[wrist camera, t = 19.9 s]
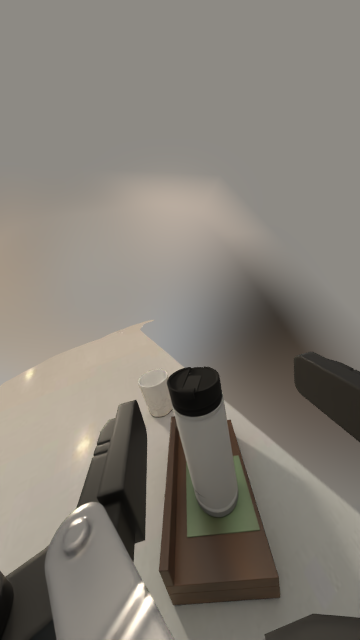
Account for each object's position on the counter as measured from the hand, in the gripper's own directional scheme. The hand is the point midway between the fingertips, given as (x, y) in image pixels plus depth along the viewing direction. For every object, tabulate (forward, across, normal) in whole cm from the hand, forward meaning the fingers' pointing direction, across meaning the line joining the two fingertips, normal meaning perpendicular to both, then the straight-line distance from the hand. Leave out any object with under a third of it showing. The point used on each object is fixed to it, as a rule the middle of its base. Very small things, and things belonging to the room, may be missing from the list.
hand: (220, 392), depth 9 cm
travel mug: (+11, 0, +26) cm, 28 cm away
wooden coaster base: (+13, +1, +30) cm, 33 cm away
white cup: (+36, +8, +30) cm, 47 cm away
